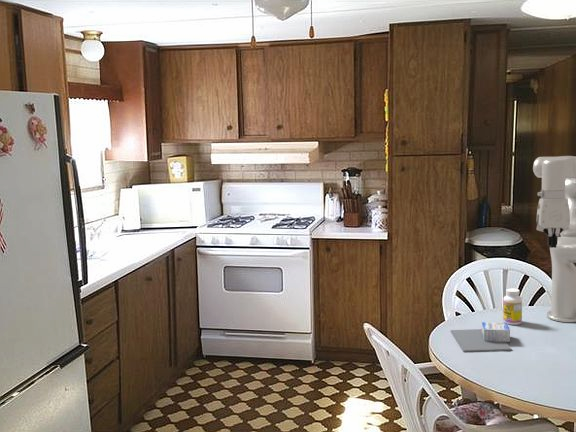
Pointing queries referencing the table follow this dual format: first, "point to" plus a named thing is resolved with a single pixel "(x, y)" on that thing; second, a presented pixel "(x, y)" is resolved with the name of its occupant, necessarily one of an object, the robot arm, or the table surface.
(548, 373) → the table surface
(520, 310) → the supplement bottle
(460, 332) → the mat
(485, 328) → the medicine box
